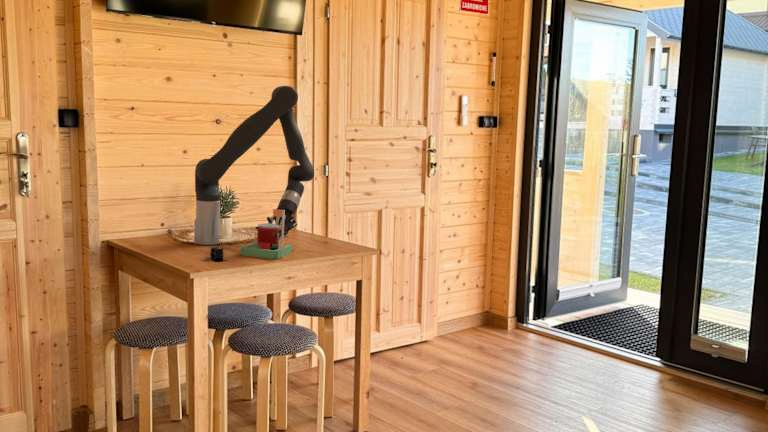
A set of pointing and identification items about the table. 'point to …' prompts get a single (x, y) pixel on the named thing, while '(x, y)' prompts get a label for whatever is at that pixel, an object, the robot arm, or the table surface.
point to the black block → (216, 255)
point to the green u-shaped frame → (264, 253)
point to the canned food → (268, 236)
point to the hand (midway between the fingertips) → (274, 239)
